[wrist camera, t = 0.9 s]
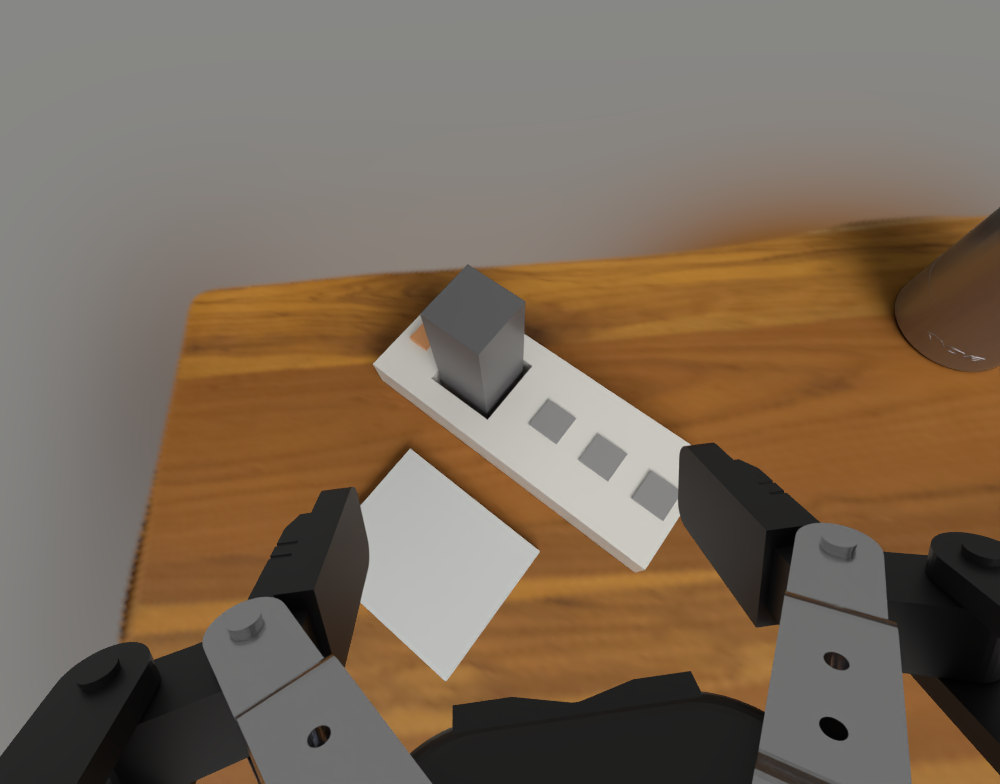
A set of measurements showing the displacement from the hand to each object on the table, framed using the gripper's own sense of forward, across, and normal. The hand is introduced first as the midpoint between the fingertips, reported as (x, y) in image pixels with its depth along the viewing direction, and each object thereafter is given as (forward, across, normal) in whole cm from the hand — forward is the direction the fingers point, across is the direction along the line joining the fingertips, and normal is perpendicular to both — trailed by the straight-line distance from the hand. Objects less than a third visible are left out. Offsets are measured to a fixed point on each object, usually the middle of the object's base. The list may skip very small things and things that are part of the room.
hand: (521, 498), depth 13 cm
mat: (+19, +6, +16) cm, 26 cm away
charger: (+28, 0, +7) cm, 29 cm away
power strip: (+25, -3, +10) cm, 27 cm away
